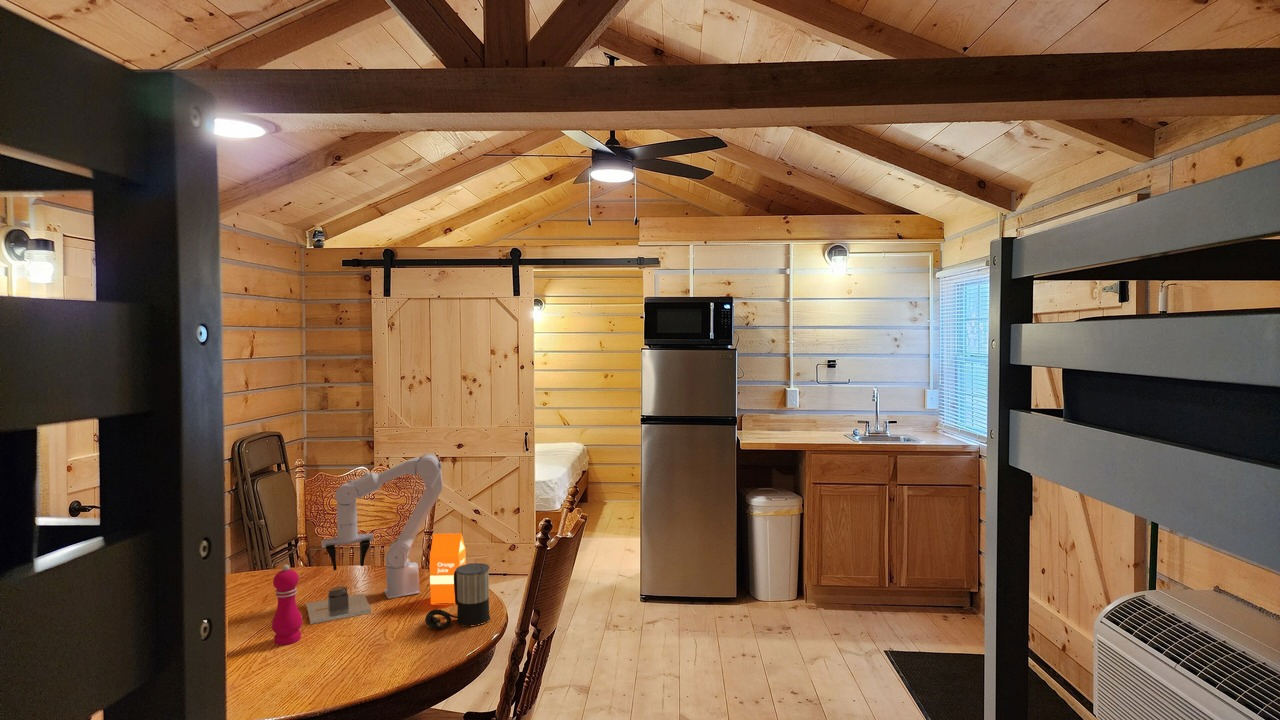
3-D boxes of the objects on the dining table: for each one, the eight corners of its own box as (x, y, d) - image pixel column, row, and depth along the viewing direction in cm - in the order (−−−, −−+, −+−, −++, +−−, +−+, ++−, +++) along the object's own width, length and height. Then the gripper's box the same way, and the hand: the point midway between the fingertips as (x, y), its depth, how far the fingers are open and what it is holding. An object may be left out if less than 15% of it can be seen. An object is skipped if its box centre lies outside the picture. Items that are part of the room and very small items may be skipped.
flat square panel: (363, 596, 218) (363, 585, 217) (371, 612, 204) (371, 600, 203) (306, 606, 210) (306, 594, 210) (310, 624, 196) (310, 611, 196)
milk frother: (497, 618, 197) (496, 565, 197) (456, 638, 184) (454, 582, 184) (461, 609, 205) (459, 558, 205) (418, 628, 191) (416, 574, 191)
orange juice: (459, 604, 209) (458, 536, 209) (430, 604, 209) (428, 537, 209) (466, 594, 217) (465, 530, 217) (438, 595, 217) (436, 530, 217)
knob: (346, 602, 210) (346, 585, 210) (348, 607, 205) (348, 589, 205) (328, 605, 207) (327, 588, 207) (329, 610, 203) (329, 593, 203)
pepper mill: (290, 647, 181) (288, 569, 180) (265, 645, 182) (263, 568, 182) (309, 635, 188) (306, 560, 188) (285, 634, 189) (283, 559, 189)
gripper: (370, 517, 223) (371, 560, 223) (320, 523, 216) (321, 567, 216) (373, 522, 217) (375, 566, 217) (322, 528, 210) (323, 574, 210)
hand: (348, 567), depth 216 cm, fingers open, 7 cm apart
